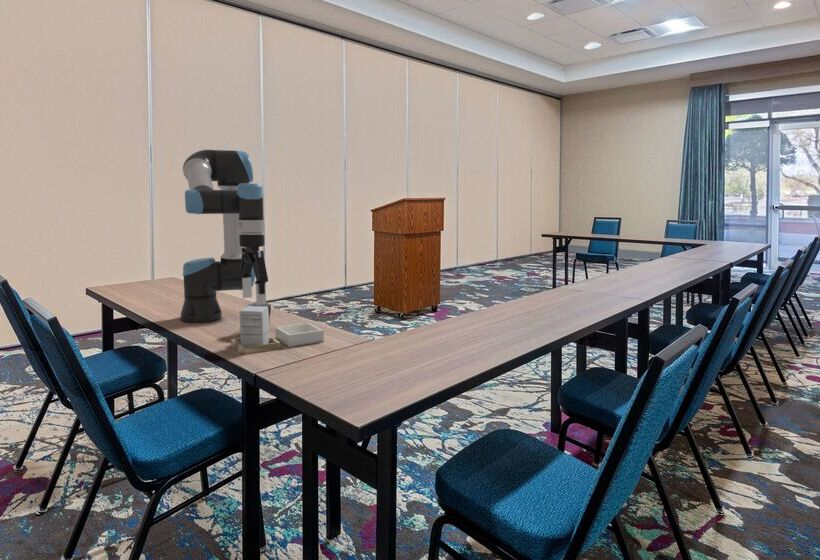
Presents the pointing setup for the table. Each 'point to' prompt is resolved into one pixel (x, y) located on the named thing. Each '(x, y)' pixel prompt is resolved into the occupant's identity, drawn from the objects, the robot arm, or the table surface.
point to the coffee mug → (262, 306)
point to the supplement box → (254, 326)
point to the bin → (299, 334)
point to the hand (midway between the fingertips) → (254, 300)
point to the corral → (257, 348)
